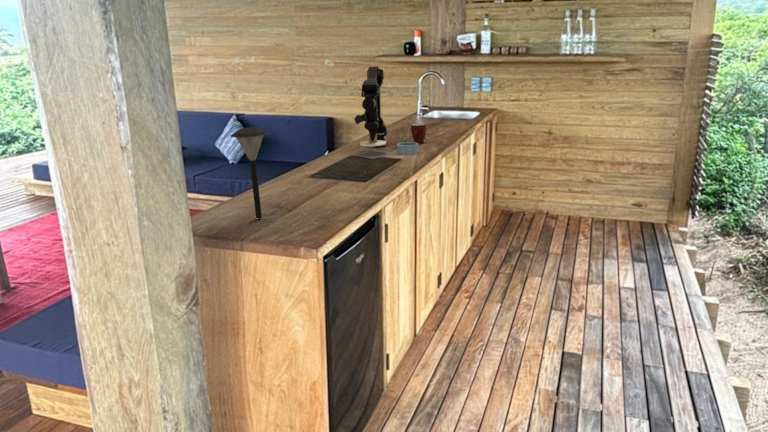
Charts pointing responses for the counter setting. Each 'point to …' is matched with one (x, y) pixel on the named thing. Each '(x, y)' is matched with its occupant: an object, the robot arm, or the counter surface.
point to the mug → (418, 132)
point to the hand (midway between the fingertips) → (372, 140)
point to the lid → (373, 142)
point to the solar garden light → (252, 157)
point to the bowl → (407, 148)
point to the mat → (373, 154)
